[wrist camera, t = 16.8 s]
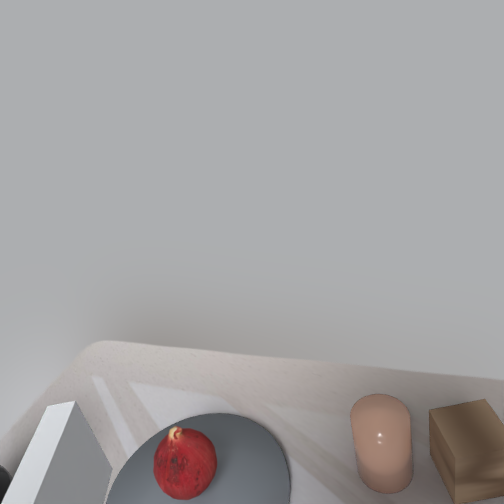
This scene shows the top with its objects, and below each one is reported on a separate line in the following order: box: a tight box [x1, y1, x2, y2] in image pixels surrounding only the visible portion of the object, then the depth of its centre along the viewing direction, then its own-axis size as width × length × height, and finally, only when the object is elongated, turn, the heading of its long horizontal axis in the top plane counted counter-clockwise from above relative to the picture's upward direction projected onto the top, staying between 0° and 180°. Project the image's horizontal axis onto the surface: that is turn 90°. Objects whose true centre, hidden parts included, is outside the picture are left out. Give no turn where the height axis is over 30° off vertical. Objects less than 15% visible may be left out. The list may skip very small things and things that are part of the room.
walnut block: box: [429, 399, 504, 504], centre depth 39 cm, size 5×5×6 cm
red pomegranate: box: [153, 426, 218, 500], centre depth 41 cm, size 6×6×8 cm
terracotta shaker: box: [350, 394, 413, 494], centre depth 40 cm, size 5×5×7 cm
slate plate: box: [106, 413, 290, 504], centre depth 43 cm, size 18×18×1 cm
